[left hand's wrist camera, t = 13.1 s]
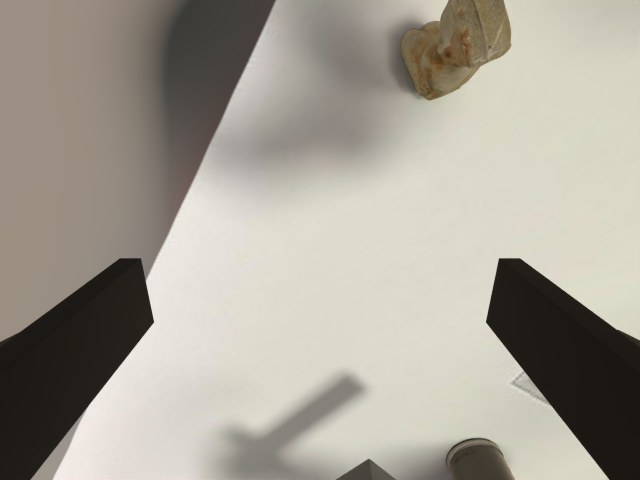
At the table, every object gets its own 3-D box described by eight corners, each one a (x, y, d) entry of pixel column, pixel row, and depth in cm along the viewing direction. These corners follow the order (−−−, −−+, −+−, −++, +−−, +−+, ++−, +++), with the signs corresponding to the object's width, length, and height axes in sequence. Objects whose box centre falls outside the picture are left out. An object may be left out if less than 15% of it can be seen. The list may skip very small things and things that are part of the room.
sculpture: (444, 17, 36) (524, -43, 22) (457, 88, 38) (537, 75, 24) (390, 39, 36) (434, -6, 22) (407, 107, 39) (456, 105, 25)
